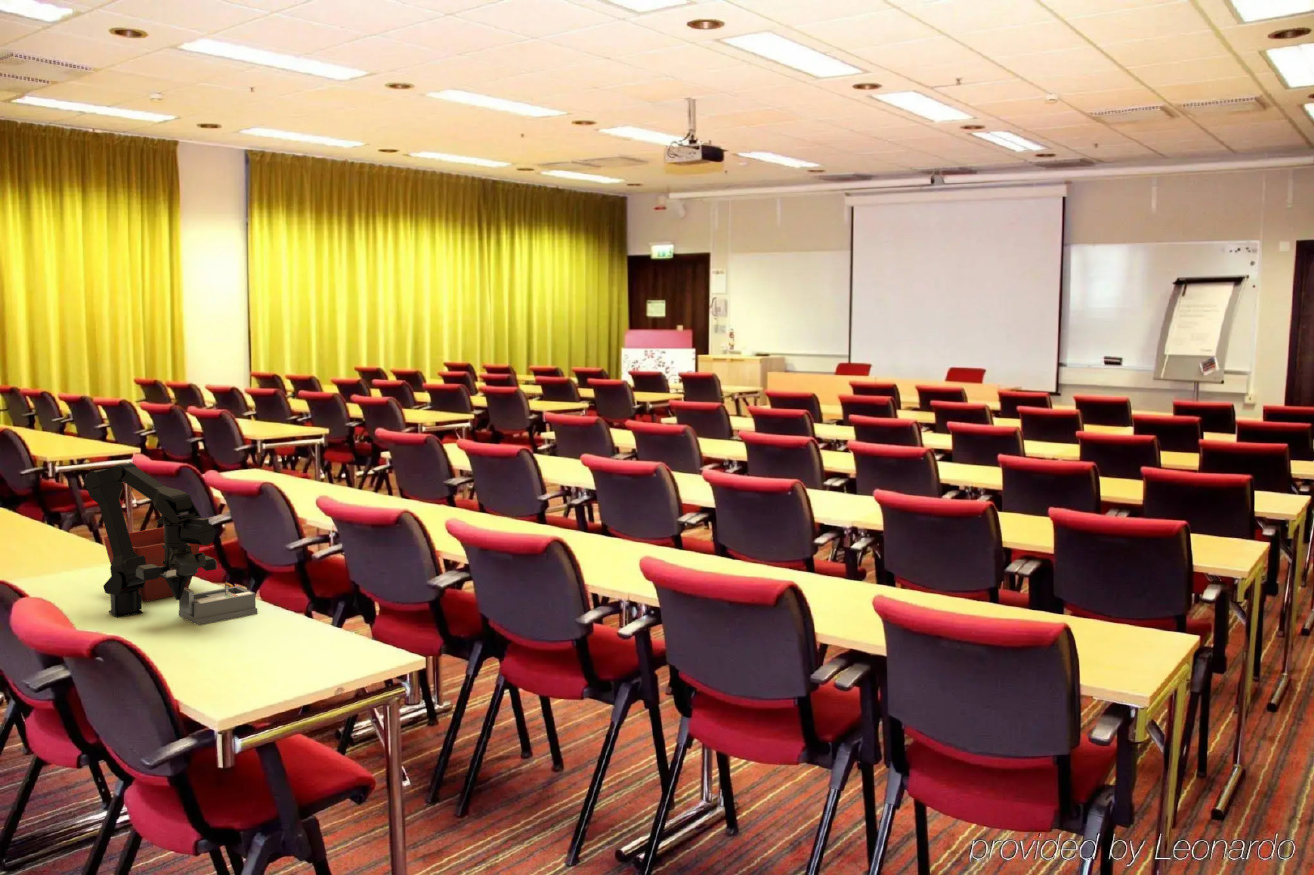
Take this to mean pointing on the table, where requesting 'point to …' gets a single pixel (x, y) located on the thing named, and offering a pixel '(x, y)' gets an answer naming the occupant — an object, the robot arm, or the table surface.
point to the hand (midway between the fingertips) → (177, 599)
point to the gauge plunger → (188, 599)
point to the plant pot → (151, 560)
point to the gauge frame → (222, 606)
